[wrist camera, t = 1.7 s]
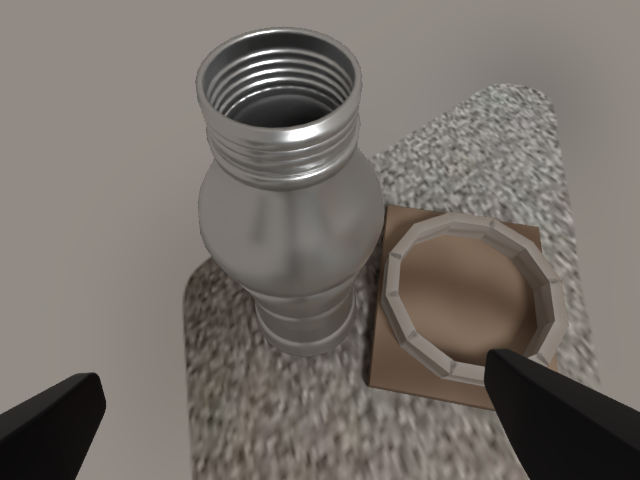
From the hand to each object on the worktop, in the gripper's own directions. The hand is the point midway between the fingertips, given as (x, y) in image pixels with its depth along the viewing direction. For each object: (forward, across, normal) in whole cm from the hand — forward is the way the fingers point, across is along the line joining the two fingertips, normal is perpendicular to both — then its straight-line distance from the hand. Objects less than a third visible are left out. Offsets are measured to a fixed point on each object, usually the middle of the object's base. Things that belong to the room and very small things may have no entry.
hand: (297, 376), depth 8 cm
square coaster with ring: (+16, -11, +7) cm, 21 cm away
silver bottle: (+16, 0, +8) cm, 18 cm away
